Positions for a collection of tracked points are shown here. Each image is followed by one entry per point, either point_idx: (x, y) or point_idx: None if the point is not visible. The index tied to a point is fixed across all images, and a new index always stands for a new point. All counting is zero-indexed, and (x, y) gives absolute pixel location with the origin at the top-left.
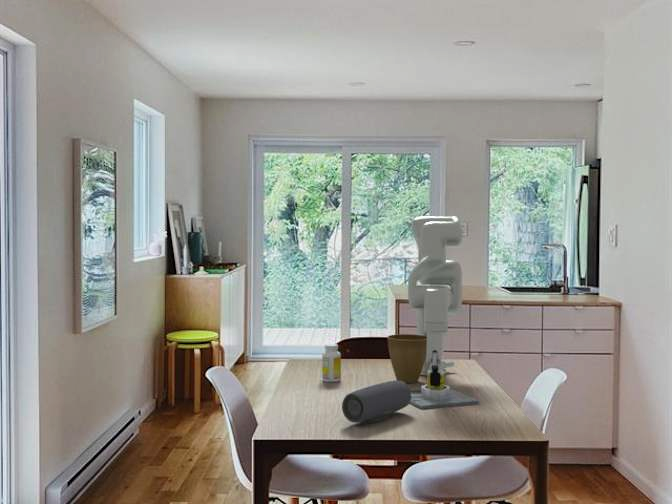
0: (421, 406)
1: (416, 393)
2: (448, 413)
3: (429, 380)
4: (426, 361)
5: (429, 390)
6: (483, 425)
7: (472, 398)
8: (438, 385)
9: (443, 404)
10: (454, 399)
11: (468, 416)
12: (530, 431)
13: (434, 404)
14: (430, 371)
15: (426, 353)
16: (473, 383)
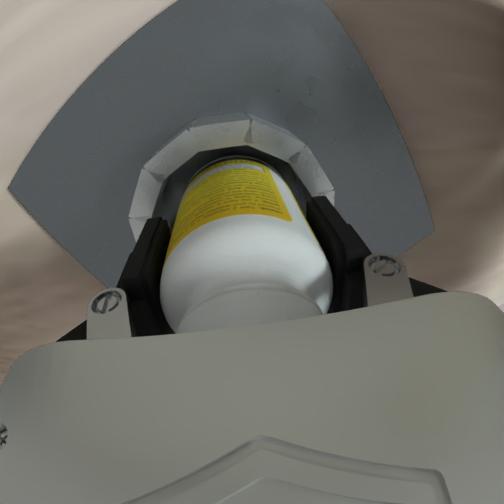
0: (10, 187)
1: (283, 72)
2: (26, 288)
3: (179, 218)
4: (12, 366)
5: (132, 203)
6: (6, 360)
7: None
8: None
9: (85, 265)
10: None
11: (39, 338)
12: None
13: (54, 234)
14: (180, 277)
15: (16, 491)
16: (496, 278)
